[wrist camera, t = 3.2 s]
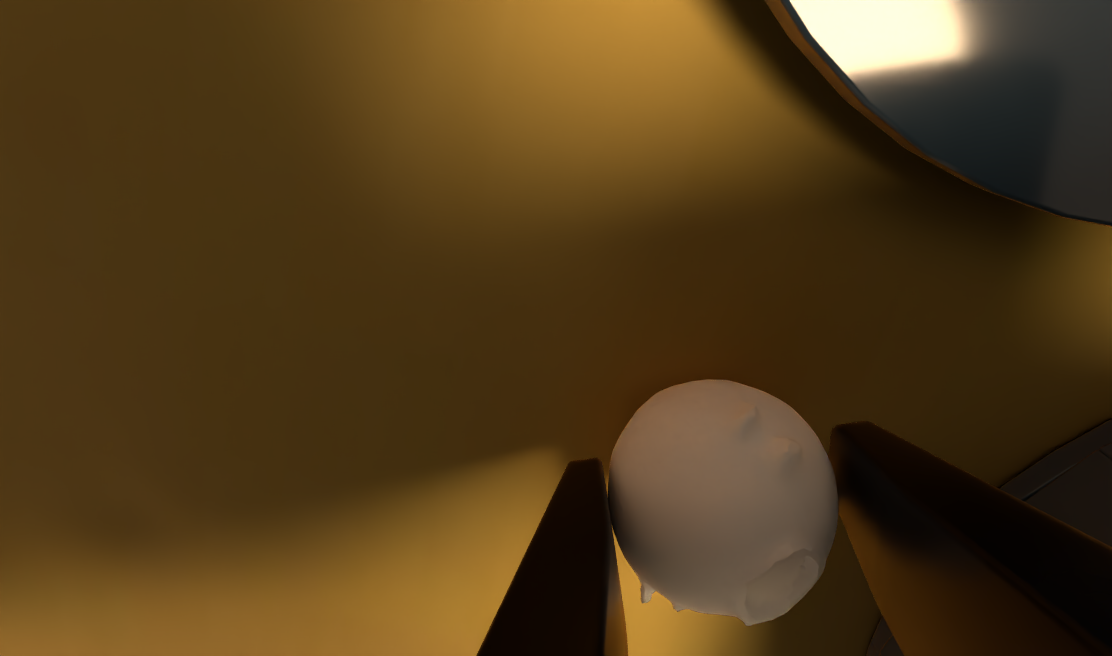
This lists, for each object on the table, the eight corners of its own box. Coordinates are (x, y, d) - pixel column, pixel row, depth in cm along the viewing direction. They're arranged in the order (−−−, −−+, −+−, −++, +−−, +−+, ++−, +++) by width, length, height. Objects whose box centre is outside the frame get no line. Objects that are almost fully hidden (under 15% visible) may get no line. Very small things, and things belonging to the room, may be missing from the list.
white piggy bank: (645, 308, 8) (697, 449, 6) (837, 371, 9) (967, 526, 6) (564, 477, 9) (576, 656, 7) (735, 523, 10) (807, 705, 7)
